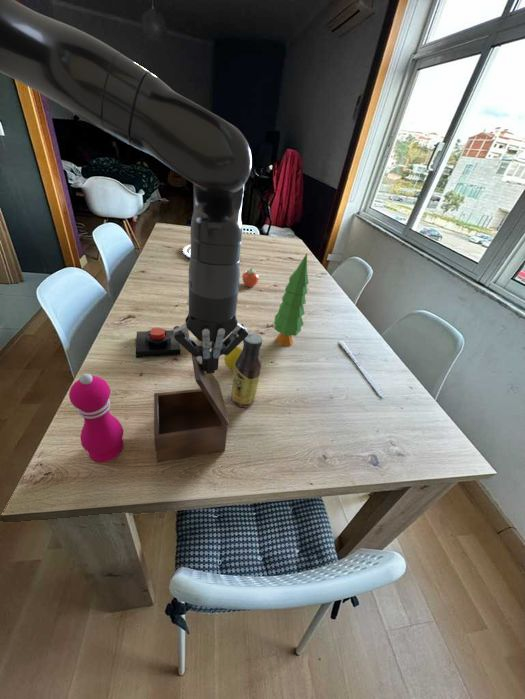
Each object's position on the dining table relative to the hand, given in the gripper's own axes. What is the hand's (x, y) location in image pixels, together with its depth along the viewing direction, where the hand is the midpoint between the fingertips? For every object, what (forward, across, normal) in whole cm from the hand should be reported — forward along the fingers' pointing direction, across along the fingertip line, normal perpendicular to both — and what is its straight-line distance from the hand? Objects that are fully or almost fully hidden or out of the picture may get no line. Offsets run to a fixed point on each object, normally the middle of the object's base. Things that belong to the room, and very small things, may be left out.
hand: (209, 370), depth 55 cm
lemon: (+18, -10, -20) cm, 29 cm away
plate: (+18, -17, -111) cm, 114 cm away
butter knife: (+18, -51, -17) cm, 56 cm away
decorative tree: (+18, -30, -32) cm, 48 cm away
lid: (+4, 0, 0) cm, 4 cm away
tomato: (+18, -29, -75) cm, 83 cm away
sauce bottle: (+18, -10, -8) cm, 23 cm away
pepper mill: (+18, +20, +1) cm, 27 cm away
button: (+15, +10, -33) cm, 37 cm away
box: (+18, +4, 0) cm, 19 cm away
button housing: (+18, +10, -33) cm, 39 cm away
